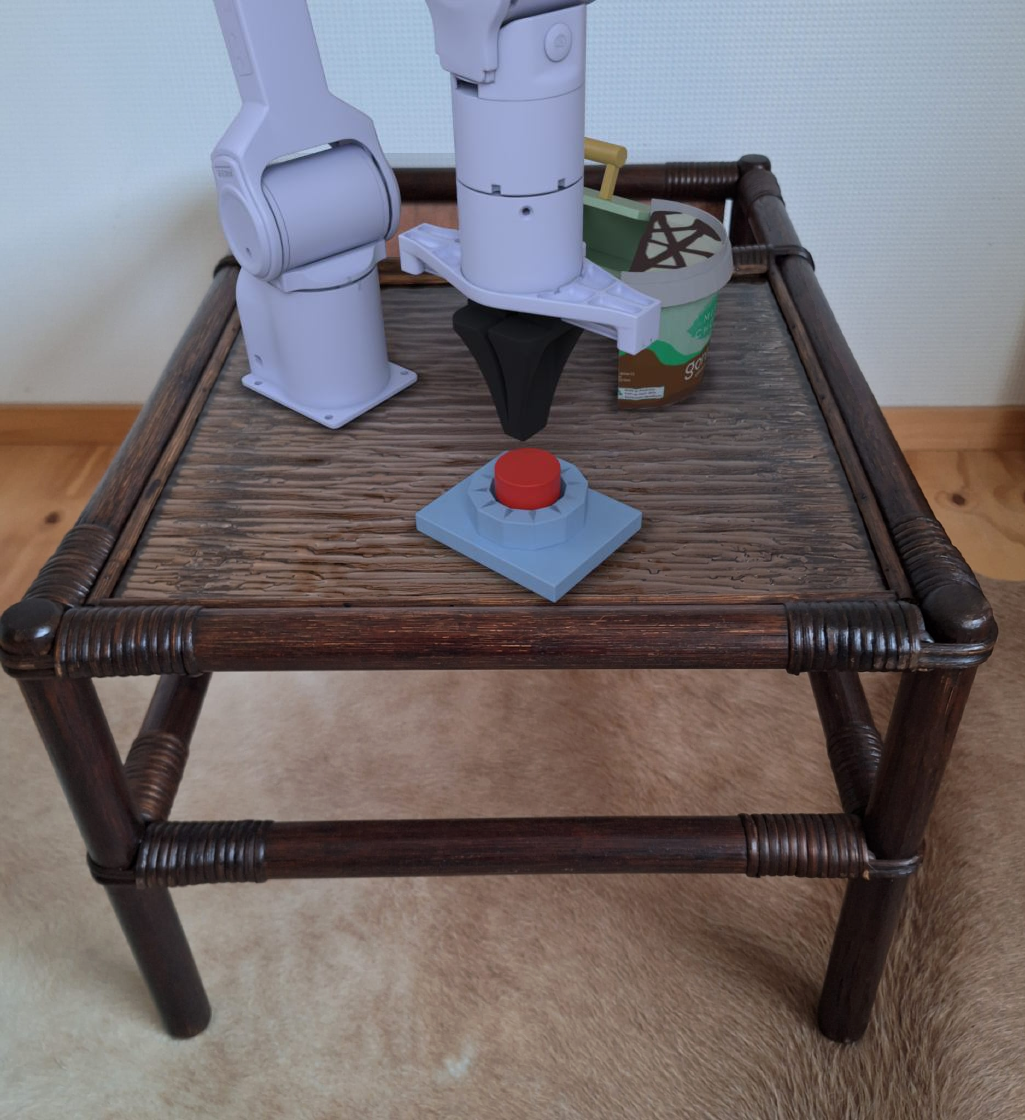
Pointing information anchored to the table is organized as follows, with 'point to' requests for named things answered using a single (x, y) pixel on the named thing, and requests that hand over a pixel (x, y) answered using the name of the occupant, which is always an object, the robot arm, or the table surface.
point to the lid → (611, 181)
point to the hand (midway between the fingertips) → (525, 429)
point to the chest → (611, 239)
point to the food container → (675, 303)
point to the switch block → (531, 530)
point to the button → (527, 479)
